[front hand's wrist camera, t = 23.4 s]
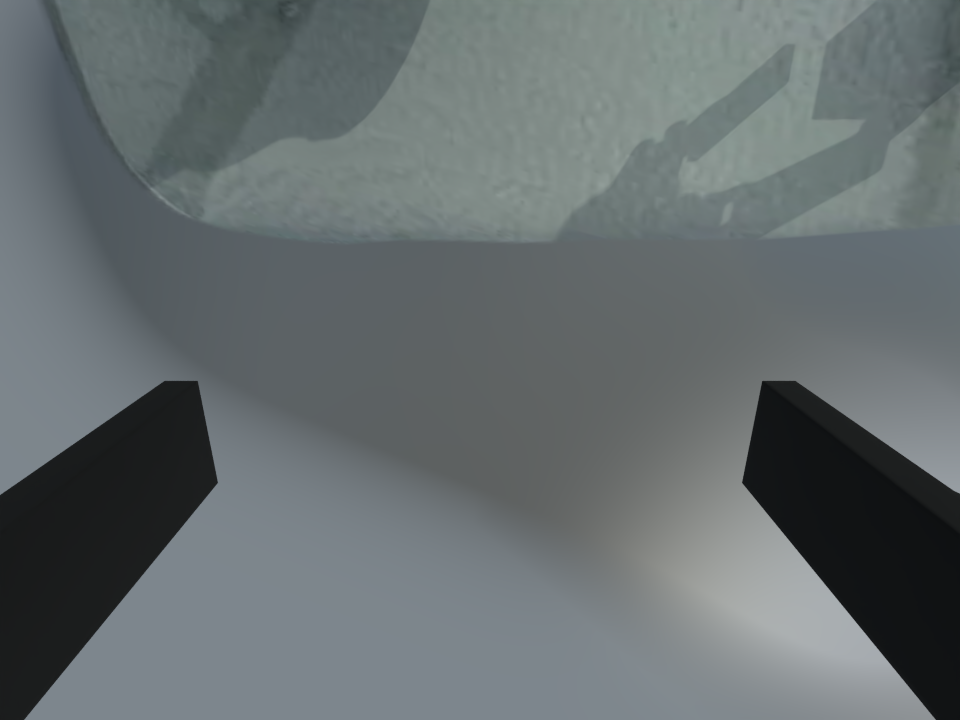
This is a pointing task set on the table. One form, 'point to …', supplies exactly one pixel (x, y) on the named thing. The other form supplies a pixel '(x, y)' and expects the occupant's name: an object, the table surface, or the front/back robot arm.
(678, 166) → the table surface
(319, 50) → the table surface
